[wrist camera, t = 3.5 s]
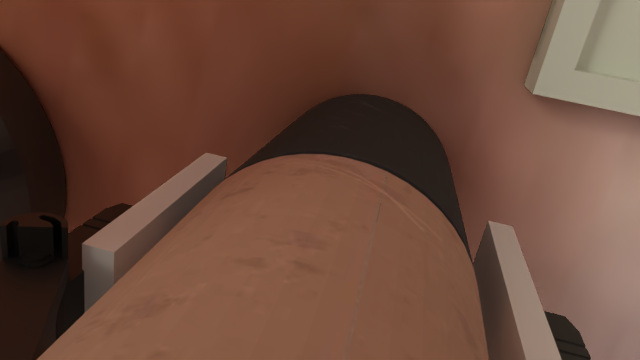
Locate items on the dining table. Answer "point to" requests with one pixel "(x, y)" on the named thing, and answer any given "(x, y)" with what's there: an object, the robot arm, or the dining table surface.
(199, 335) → the travel mug
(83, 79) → the dining table surface
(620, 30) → the tray
